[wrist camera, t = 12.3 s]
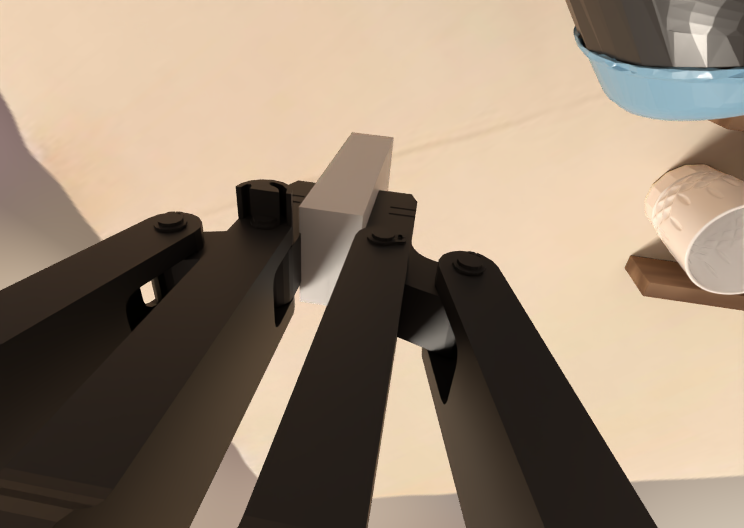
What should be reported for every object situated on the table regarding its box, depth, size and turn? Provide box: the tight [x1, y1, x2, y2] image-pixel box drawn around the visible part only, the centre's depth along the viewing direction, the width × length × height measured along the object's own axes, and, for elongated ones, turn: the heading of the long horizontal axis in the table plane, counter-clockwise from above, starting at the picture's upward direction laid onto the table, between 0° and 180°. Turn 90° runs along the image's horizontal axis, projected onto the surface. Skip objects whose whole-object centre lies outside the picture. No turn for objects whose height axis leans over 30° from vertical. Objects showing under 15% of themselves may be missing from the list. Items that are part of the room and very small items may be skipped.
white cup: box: [645, 164, 744, 295], centre depth 36 cm, size 8×8×10 cm
